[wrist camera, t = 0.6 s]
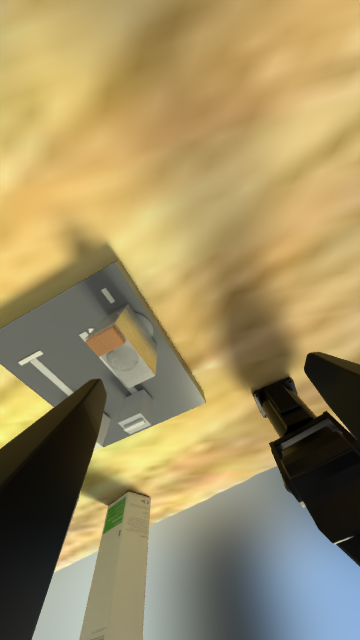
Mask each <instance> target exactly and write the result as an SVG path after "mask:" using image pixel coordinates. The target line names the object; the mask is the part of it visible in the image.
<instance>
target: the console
mask: <svg viewBox="0 0 360 640" xmlns="http://www.w3.org/2000/svg"><path fill="white" fill-rule="evenodd" d="M126 304H129V305H130V307H131V308H132V309H133V311H134V312H135V314H136V315H137V317H138V318H139V320H140V321H141V323H142V324H143V325H144V327H145V328H146V330H147V331H148V333H149V334H150V336H151V337H152V339H153V340H154V342H155V343H156V344H157V346H158V349H157V361H156V373H155V376H154V377H152V378H150V379H148V380H145V381H143V382H141V383H139V384H137V385H135V386H133V387H131V388H128V387H127V386H126V384H125V383H124V382H123V381H122V380H121V379H120V378H119V377H118V376H117V374H116V373H115V372H114V371H113V370H112V369H111V368H110V367H109V365H108V364H107V363H106V362H105V361H104V360H103V359H102V358H101V356H100V357H98V356H97V355H96V354H95V353H94V351H93V350H92V349H91V348H90V347H89V346H88V345H87V344H86V343H85V342H86V340H85V338H86V337H87V336H88V335H89V334H90V333H91V332H92V331H93V329H94V328H95V327H96V326H97V325H98V324H99V323H100V322H101V320H102V319H103V318H104V317H105V316H106V315H108V314H110V313H112V312H113V311H115V310H117V309H119V308H121V307H123V306H124V305H126ZM0 364H1V365H2V366H4V367H5V368H6V369H7V370H9V371H10V372H11V373H12V374H13V375H15V376H16V377H17V378H18V379H20V380H21V381H22V382H23V383H25V384H26V385H27V386H28V387H30V388H31V389H32V390H33V391H35V392H36V393H37V394H38V395H40V396H41V397H42V398H43V399H44V400H46V401H47V402H48V403H49V404H51V405H52V406H53V407H55V406H57V405H58V404H59V403H61V402H62V401H63V400H64V399H66V398H67V397H68V396H70V395H71V394H72V393H74V392H75V391H76V390H77V389H79V388H80V387H81V386H83V385H84V384H85V383H86V382H88V381H89V380H91V379H98V378H100V379H102V381H103V384H104V387H105V389H106V392H107V399H106V404H105V408H104V414H105V415H106V416H107V417H108V418H110V419H111V421H110V424H109V427H108V430H107V433H106V436H105V439H104V442H103V447H105V446H108V445H110V444H112V443H115V442H117V441H119V440H122V439H124V438H126V437H128V436H131V435H133V434H135V433H138V432H140V431H142V430H145V429H147V428H149V427H151V426H154V425H156V424H158V423H161V422H163V421H165V420H168V419H170V418H172V417H175V416H177V415H179V414H181V413H184V412H186V411H188V410H191V409H193V408H195V407H198V406H200V405H202V404H204V403H206V400H205V397H204V393H203V391H202V389H201V388H200V386H199V384H198V383H197V381H196V380H195V378H194V377H193V375H192V373H191V372H190V370H189V369H188V367H187V366H186V364H185V362H184V361H183V359H182V358H181V356H180V355H179V353H178V351H177V350H176V348H175V347H174V345H173V344H172V342H171V340H170V339H169V337H168V336H167V334H166V332H165V331H164V329H163V328H162V326H161V325H160V323H159V321H158V320H157V318H156V317H155V315H154V314H153V312H152V310H151V309H150V307H149V306H148V304H147V303H146V301H145V299H144V298H143V296H142V295H141V293H140V292H139V290H138V288H137V287H136V285H135V284H134V282H133V280H132V279H131V277H130V276H129V274H128V273H127V271H126V269H125V268H124V266H123V265H122V263H121V262H120V261H117V262H114V263H112V264H110V265H109V266H107V267H105V268H104V269H102V270H100V271H98V272H97V273H95V274H93V275H92V276H90V277H88V278H86V279H85V280H83V281H81V282H80V283H78V284H76V285H74V286H73V287H71V288H69V289H68V290H66V291H64V292H62V293H61V294H59V295H57V296H56V297H54V298H52V299H50V300H49V301H47V302H45V303H44V304H42V305H40V306H38V307H37V308H35V309H33V310H32V311H30V312H28V313H26V314H25V315H23V316H21V317H20V318H18V319H16V320H14V321H13V322H11V323H9V324H8V325H6V326H4V327H2V328H1V329H0ZM143 389H144V390H145V391H146V392H147V393H148V395H149V396H150V397H151V398H152V399H153V411H152V423H151V425H150V426H148V427H146V428H143V429H141V430H139V431H136V432H134V433H132V434H129V433H128V432H126V431H125V430H124V428H123V427H121V426H120V425H119V424H118V421H119V417H120V413H121V410H122V406H123V403H124V399H125V398H126V397H128V396H130V395H132V394H135V393H137V392H139V391H141V390H143Z"/></svg>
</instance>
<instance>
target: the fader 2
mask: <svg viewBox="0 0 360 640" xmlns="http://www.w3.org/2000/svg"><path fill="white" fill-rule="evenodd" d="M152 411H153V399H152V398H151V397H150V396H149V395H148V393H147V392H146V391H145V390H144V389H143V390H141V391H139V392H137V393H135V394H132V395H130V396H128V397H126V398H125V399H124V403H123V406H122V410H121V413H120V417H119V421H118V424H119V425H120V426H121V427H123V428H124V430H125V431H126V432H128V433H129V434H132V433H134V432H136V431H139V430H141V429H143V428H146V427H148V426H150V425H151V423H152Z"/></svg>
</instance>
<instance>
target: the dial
mask: <svg viewBox="0 0 360 640" xmlns="http://www.w3.org/2000/svg"><path fill="white" fill-rule="evenodd" d="M85 340H86V342H85V343H86V344H87V345H88V346H89V347H90V348H91V349H92V350H93V351H94V353H95V354H96V355H97V356H98V357H100V356H101V358H102V359H103V360H104V361H105V362H106V363H107V364H108V365H109V367H110V368H111V369H112V370H113V371H114V372H115V373H116V374H117V376H118V377H119V378H120V379H121V380H122V381H123V382H124V383H125V384H126V386H127V387H128V388H131V387H133V386H135V385H137V384H139V383H141V382H143V381H145V380H148V379H150V378H152V377H154V376H155V373H156V361H157V349H158V346H157V344H156V343H155V342H154V340H153V339H152V337H151V336H150V334H149V333H148V331H147V330H146V328H145V327H144V325H143V324H142V323H141V321H140V320H139V318H138V317H137V315H136V314H135V312H134V311H133V309H132V308H131V307H130V305H129V304H126V305H124V306H123V307H121V308H119V309H117V310H115V311H113V312H112V313H110V314H108V315H106V316H105V317H104V318H103V319H102V320H101V322H100V323H99V324H98V325H97V326H96V327H95V328H94V329H93V331H92V332H91V333H90V334H89V335H88V336H87V337H86V338H85Z"/></svg>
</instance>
